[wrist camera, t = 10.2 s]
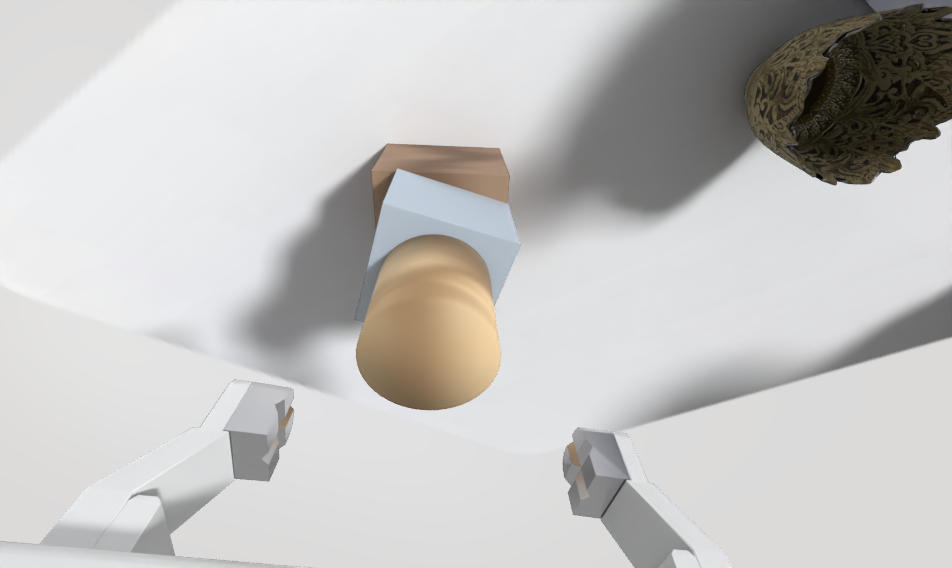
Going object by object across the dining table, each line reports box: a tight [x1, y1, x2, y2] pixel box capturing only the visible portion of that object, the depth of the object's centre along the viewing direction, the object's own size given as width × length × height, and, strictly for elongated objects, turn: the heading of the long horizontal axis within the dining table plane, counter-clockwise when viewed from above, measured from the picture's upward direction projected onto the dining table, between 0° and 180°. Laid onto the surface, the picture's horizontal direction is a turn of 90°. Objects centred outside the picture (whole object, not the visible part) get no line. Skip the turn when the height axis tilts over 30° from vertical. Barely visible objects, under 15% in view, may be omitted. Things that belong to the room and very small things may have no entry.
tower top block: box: [355, 168, 521, 322], centre depth 21 cm, size 6×6×5 cm
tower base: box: [371, 144, 510, 229], centre depth 26 cm, size 7×7×6 cm
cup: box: [745, 3, 952, 185], centre depth 22 cm, size 8×7×8 cm
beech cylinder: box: [356, 234, 501, 410], centre depth 17 cm, size 5×5×5 cm
